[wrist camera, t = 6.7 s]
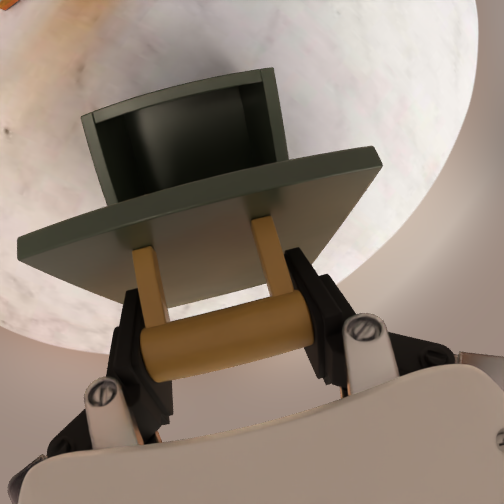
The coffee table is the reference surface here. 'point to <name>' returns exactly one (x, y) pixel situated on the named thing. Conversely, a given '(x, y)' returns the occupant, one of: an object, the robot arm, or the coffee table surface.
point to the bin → (186, 134)
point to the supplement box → (7, 4)
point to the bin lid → (211, 256)
